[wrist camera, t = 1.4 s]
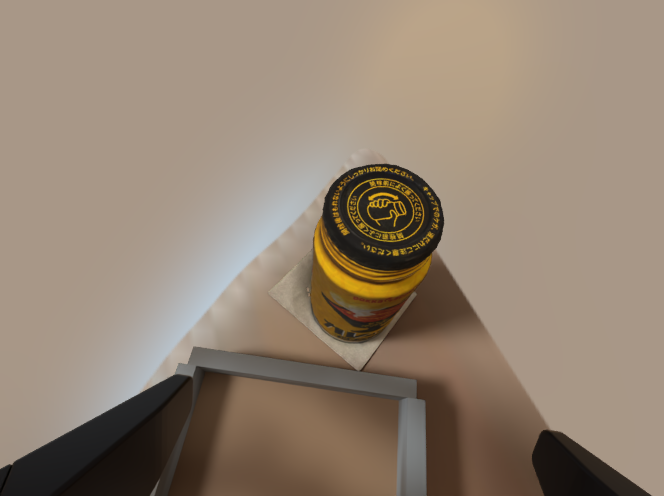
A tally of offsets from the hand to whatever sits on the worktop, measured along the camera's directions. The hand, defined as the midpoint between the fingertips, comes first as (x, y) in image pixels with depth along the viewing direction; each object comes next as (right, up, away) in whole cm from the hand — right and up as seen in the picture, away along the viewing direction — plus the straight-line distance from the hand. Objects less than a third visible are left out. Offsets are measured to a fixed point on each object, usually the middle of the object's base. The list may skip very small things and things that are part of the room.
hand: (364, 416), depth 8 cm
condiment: (0, +1, +16) cm, 16 cm away
